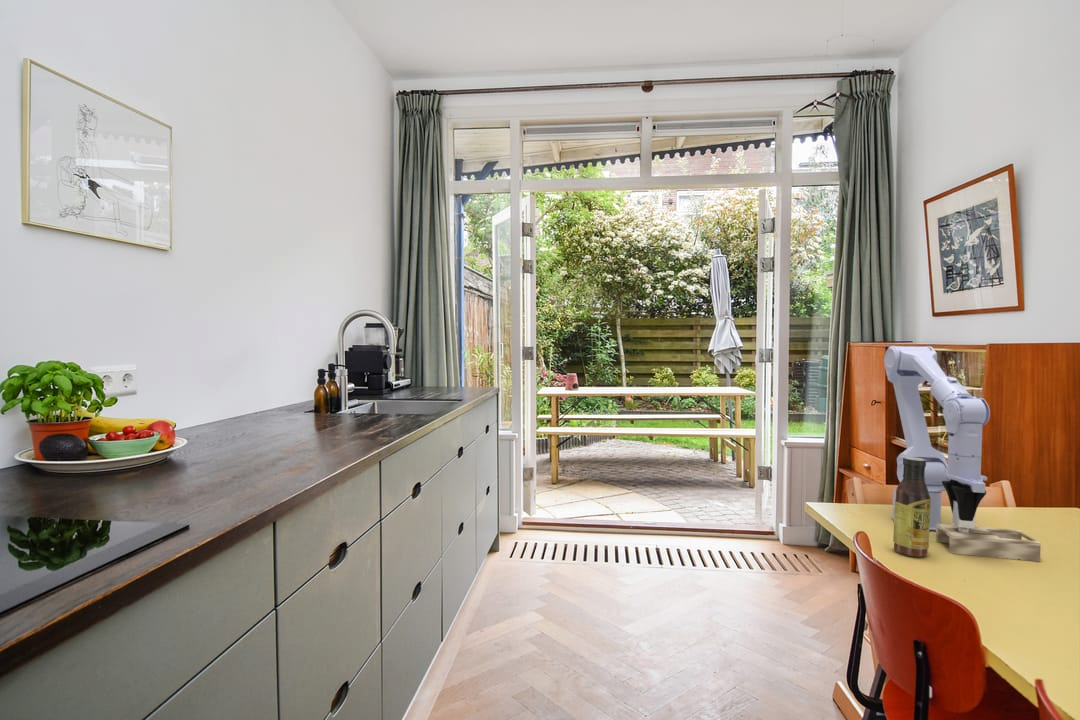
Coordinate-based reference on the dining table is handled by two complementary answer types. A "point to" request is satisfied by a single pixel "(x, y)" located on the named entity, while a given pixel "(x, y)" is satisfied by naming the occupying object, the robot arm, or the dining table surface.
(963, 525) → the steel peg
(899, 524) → the sauce bottle
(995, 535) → the beige wooden frame
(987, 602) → the dining table surface
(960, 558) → the dining table surface
